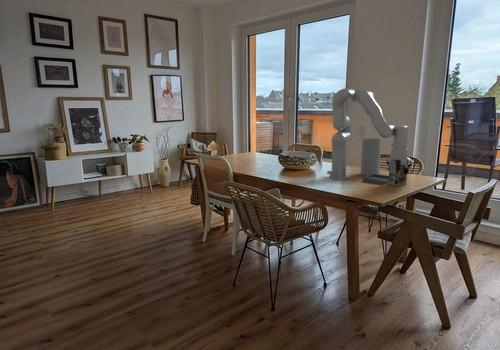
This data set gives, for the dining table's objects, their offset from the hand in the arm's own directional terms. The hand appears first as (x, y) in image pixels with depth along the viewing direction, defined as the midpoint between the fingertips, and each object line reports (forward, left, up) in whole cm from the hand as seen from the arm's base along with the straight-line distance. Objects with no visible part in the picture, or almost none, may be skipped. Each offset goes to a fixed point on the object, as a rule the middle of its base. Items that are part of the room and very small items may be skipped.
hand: (398, 173), depth 216 cm
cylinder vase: (-26, +16, -8) cm, 31 cm away
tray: (-13, +2, -7) cm, 15 cm away
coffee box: (0, 0, -8) cm, 8 cm away
